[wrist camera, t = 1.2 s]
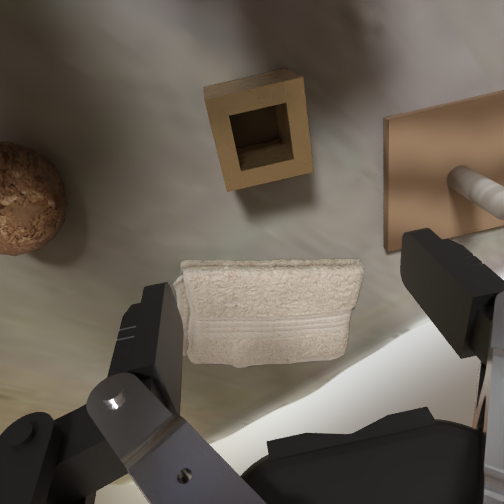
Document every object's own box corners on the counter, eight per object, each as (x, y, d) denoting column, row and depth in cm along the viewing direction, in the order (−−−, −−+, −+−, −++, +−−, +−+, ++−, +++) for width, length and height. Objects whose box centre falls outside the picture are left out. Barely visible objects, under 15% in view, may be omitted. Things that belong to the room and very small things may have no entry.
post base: (383, 117, 29) (430, 142, 23) (534, 83, 29) (620, 99, 23) (383, 246, 36) (420, 291, 30) (507, 218, 36) (569, 257, 30)
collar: (203, 86, 26) (204, 99, 22) (286, 68, 26) (303, 77, 22) (223, 167, 30) (227, 192, 25) (297, 150, 30) (313, 172, 25)
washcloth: (172, 255, 34) (170, 275, 31) (362, 251, 36) (375, 269, 34) (179, 350, 40) (177, 373, 37) (340, 341, 42) (350, 362, 40)
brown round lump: (-96, 217, 25) (-82, 252, 22) (-48, 110, 25) (-25, 125, 21) (26, 247, 32) (54, 277, 28) (66, 161, 31) (100, 180, 28)
